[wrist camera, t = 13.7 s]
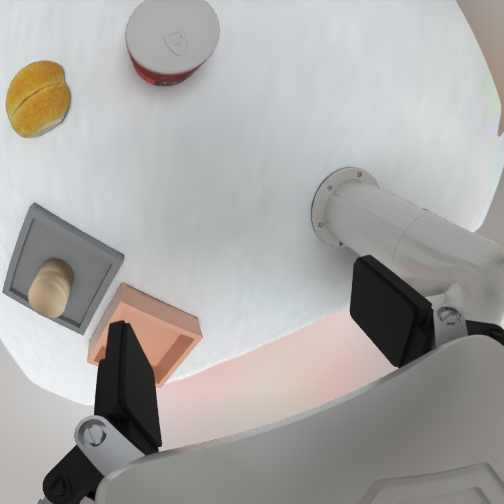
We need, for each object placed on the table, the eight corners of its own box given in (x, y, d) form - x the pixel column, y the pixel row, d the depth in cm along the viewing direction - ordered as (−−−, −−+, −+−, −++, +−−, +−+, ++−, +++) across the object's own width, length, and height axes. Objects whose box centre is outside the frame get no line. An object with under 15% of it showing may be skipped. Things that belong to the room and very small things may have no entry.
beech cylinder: (79, 268, 33) (70, 294, 28) (66, 296, 34) (58, 324, 29) (47, 251, 31) (34, 275, 26) (36, 280, 32) (24, 306, 27)
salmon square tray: (197, 317, 44) (202, 337, 40) (157, 368, 46) (160, 388, 42) (122, 282, 37) (120, 301, 33) (89, 341, 39) (87, 362, 35)
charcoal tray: (124, 255, 36) (123, 261, 34) (84, 327, 38) (83, 335, 36) (34, 202, 28) (29, 206, 27) (6, 285, 31) (2, 292, 29)
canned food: (160, 99, 29) (164, 92, 20) (118, 53, 25) (105, 27, 15) (213, 60, 29) (240, 38, 19) (172, 14, 24) (184, -24, 15)
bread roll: (59, 51, 22) (48, 44, 18) (78, 114, 26) (70, 114, 23) (3, 86, 21) (-11, 85, 17) (23, 147, 25) (9, 152, 22)
